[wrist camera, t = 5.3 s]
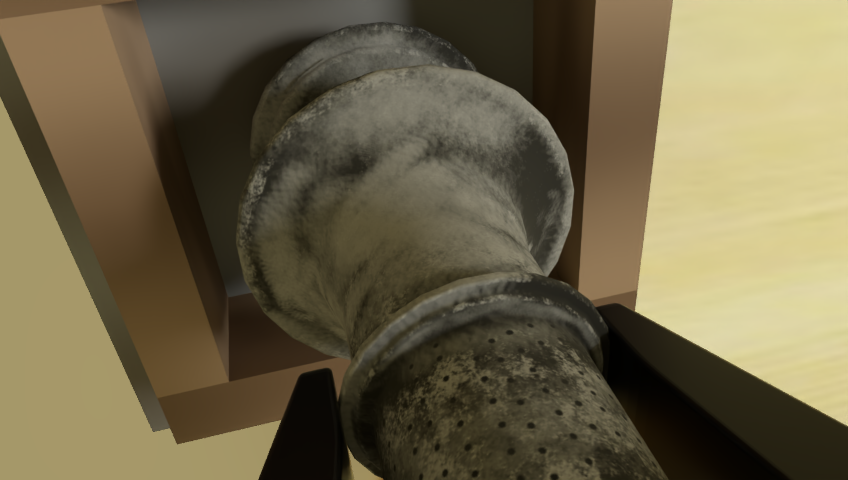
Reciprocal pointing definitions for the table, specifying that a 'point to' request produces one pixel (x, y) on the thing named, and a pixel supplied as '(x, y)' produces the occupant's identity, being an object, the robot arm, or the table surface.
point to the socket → (231, 166)
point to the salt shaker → (430, 263)
